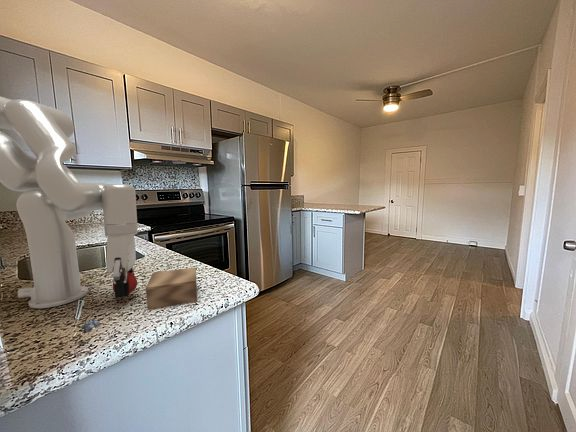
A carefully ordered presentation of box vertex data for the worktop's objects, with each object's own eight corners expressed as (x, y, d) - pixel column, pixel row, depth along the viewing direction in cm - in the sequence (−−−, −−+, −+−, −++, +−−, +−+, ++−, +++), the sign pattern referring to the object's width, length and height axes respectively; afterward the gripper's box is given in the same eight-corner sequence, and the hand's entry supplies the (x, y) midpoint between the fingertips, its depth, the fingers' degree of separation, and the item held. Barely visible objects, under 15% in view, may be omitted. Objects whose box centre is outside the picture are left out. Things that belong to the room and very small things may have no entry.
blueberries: (67, 344, 51) (66, 336, 51) (69, 325, 57) (68, 318, 57) (107, 332, 56) (106, 324, 55) (104, 315, 62) (104, 308, 61)
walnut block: (147, 309, 64) (145, 287, 63) (154, 291, 75) (153, 272, 74) (196, 301, 68) (195, 280, 67) (196, 285, 79) (195, 267, 78)
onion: (125, 302, 66) (124, 273, 65) (108, 299, 68) (106, 271, 67) (142, 293, 72) (141, 266, 71) (125, 290, 73) (124, 265, 72)
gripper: (115, 224, 74) (118, 281, 76) (92, 236, 58) (98, 308, 60) (143, 223, 77) (146, 279, 79) (129, 234, 61) (133, 303, 63)
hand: (125, 291), depth 70 cm, fingers closed on onion, 5 cm apart
